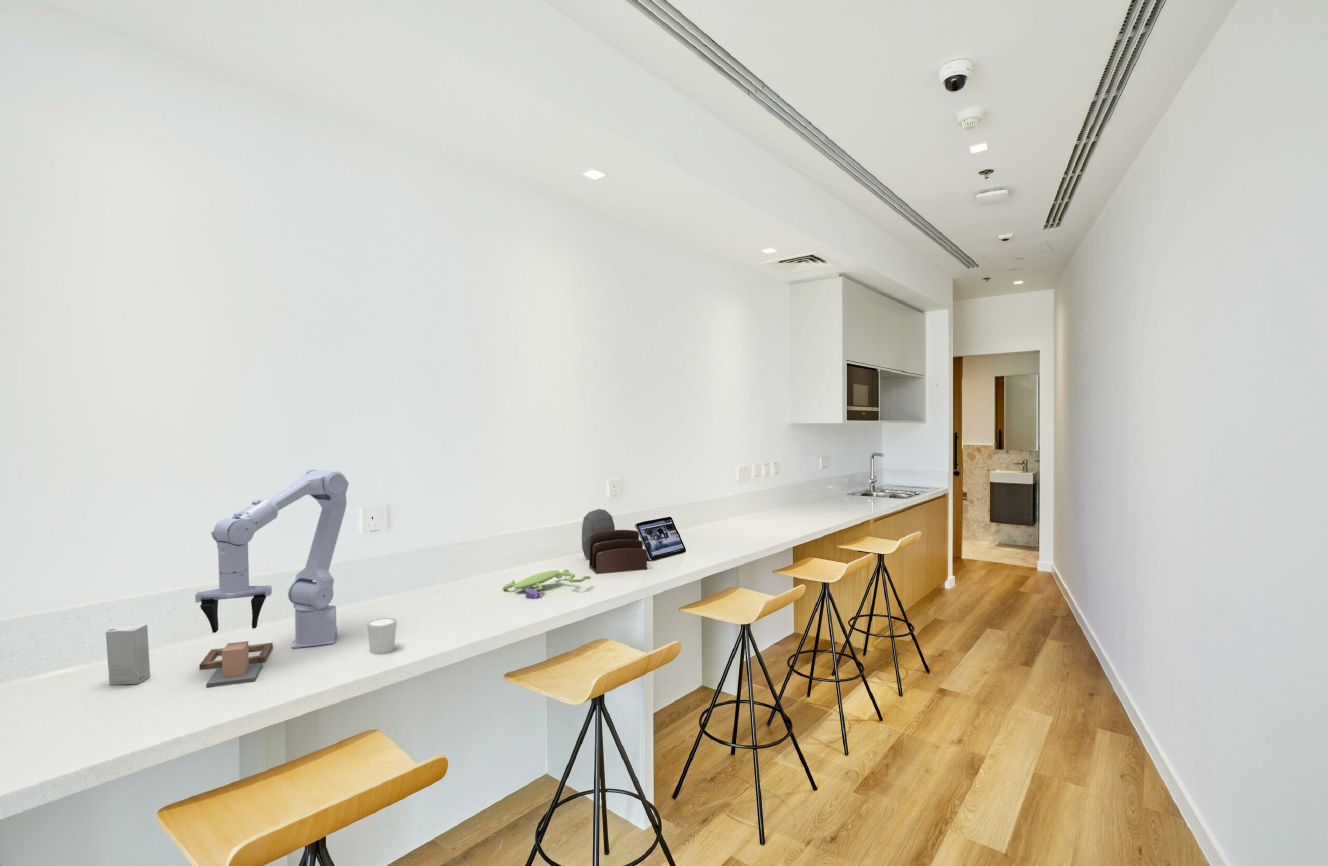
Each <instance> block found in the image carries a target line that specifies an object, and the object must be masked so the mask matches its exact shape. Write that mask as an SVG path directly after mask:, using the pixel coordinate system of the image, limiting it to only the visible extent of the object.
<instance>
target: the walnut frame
mask: <svg viewBox="0 0 1328 866" xmlns="http://www.w3.org/2000/svg"><path fill="white" fill-rule="evenodd" d="M224 648H225V647H222V648H212V649H210V650H209V652H208V653H207V654H206V655H205V656H204V658H203V660H202V661H201V662H200V664H199V670H200V671H203V670H210V669H211V670H212V669H217V668H222V659H218V660H215V659H216V658H217V657H219V656H222V650H223V649H224ZM273 648H274V643H273V642H268V643H267V642H266V643H258V644H250V645H249V644H248V649H249V653H252V652H254V653H255V652H260V653H259V655H253V656H249V664H252V663H253V664H256V663H266V662H267V659H268V658H269V656H270V654H271V652H272V650H273ZM261 650H262V651H261Z"/></svg>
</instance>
